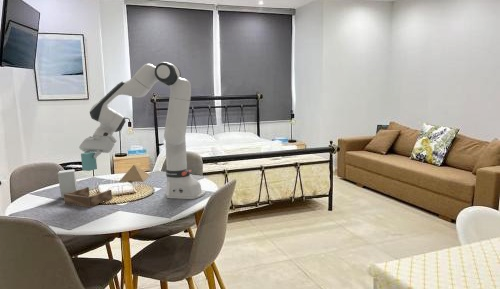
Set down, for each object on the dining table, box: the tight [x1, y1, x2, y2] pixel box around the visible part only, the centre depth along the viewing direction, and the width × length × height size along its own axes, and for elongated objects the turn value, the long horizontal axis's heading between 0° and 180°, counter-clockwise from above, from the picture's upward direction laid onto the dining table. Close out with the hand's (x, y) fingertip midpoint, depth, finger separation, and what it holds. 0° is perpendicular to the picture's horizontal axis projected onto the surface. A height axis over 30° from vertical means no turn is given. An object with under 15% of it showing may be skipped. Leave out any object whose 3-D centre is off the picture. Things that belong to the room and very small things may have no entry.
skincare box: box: [57, 168, 79, 199], centre depth 201 cm, size 8×6×15 cm
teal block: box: [80, 152, 98, 172], centre depth 191 cm, size 5×5×9 cm
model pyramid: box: [118, 164, 151, 183], centre depth 239 cm, size 17×17×10 cm
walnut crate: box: [63, 186, 113, 208], centre depth 192 cm, size 15×18×5 cm
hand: (89, 157), depth 191 cm, fingers closed on teal block, 5 cm apart
